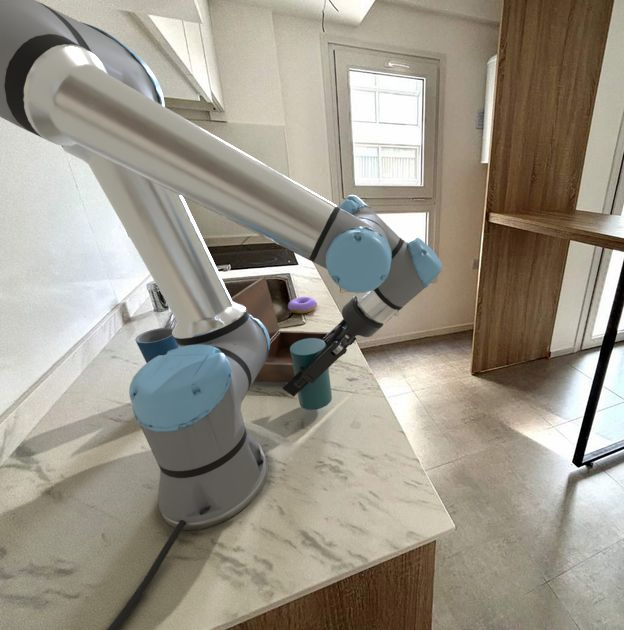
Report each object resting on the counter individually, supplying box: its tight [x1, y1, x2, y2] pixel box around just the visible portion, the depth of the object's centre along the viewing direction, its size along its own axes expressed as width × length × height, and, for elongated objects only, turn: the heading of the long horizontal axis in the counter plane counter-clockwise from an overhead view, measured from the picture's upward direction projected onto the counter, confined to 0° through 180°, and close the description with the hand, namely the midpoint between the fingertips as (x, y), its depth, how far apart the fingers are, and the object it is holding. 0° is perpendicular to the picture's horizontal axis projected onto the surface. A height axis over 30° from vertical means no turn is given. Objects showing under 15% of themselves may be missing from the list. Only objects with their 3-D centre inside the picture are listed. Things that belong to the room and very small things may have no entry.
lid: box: [231, 276, 281, 340], centre depth 81 cm, size 15×17×1 cm
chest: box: [254, 330, 331, 384], centre depth 86 cm, size 15×17×6 cm
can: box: [290, 338, 333, 411], centre depth 67 cm, size 7×7×13 cm
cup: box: [134, 327, 179, 364], centre depth 73 cm, size 7×7×15 cm
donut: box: [287, 296, 318, 314], centre depth 119 cm, size 10×9×5 cm
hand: (295, 380), depth 68 cm, fingers closed on can, 7 cm apart
